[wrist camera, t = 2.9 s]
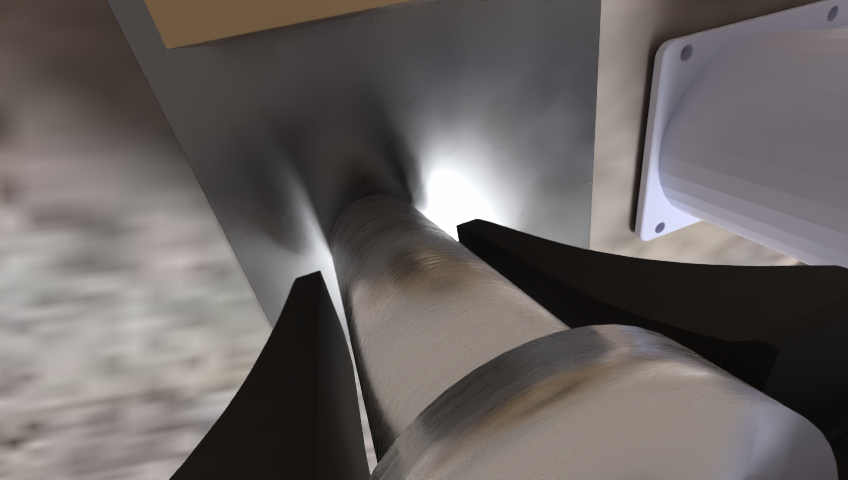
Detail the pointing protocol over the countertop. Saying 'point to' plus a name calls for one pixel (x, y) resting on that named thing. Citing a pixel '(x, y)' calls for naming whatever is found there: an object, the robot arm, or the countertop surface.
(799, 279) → the robot arm
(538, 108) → the clevis base
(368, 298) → the steel pin
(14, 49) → the countertop surface
